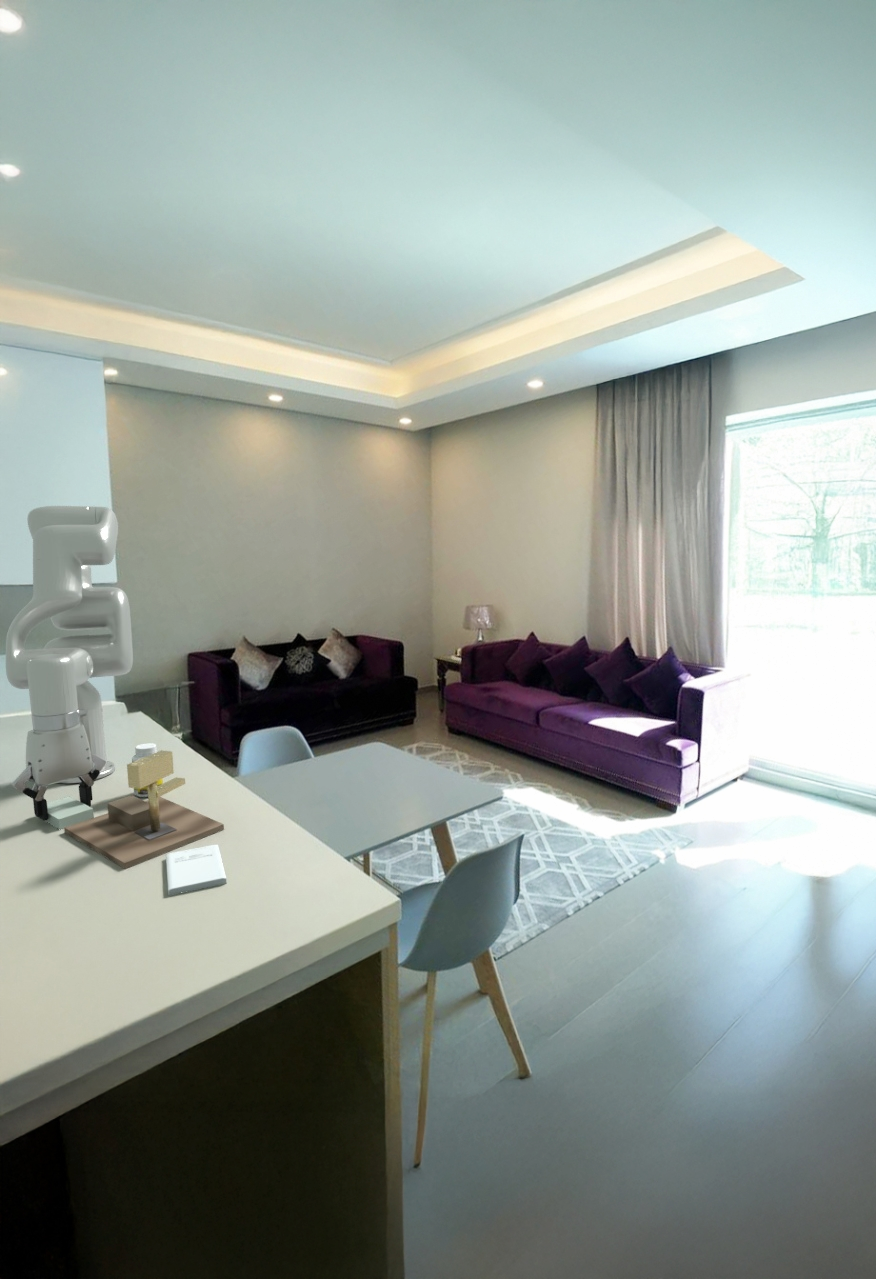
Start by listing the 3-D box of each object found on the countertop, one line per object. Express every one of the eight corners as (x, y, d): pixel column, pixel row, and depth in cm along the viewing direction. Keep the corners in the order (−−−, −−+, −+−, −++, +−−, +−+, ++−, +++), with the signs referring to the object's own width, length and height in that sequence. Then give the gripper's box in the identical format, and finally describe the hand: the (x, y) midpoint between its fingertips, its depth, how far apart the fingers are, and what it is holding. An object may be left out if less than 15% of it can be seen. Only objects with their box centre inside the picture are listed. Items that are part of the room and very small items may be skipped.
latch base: (64, 832, 115) (62, 811, 115) (159, 801, 129) (158, 782, 129) (125, 869, 102) (123, 845, 101) (223, 829, 116) (222, 808, 115)
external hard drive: (168, 899, 94) (166, 862, 105) (227, 887, 97) (218, 852, 109) (167, 889, 94) (165, 852, 105) (226, 877, 97) (218, 843, 108)
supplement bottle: (136, 800, 130) (132, 751, 129) (132, 791, 135) (128, 744, 133) (166, 794, 133) (162, 746, 132) (160, 786, 138) (157, 740, 136)
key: (177, 812, 120) (173, 745, 118) (188, 813, 119) (183, 746, 117) (132, 837, 110) (126, 764, 108) (144, 839, 109) (138, 766, 107)
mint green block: (37, 821, 123) (36, 806, 122) (71, 810, 127) (69, 796, 127) (60, 834, 117) (58, 819, 116) (94, 823, 121) (92, 808, 121)
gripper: (94, 708, 128) (102, 793, 131) (-6, 728, 115) (5, 822, 117) (112, 714, 124) (120, 802, 126) (10, 735, 110) (21, 833, 113)
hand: (64, 811), depth 122 cm, fingers open, 7 cm apart
